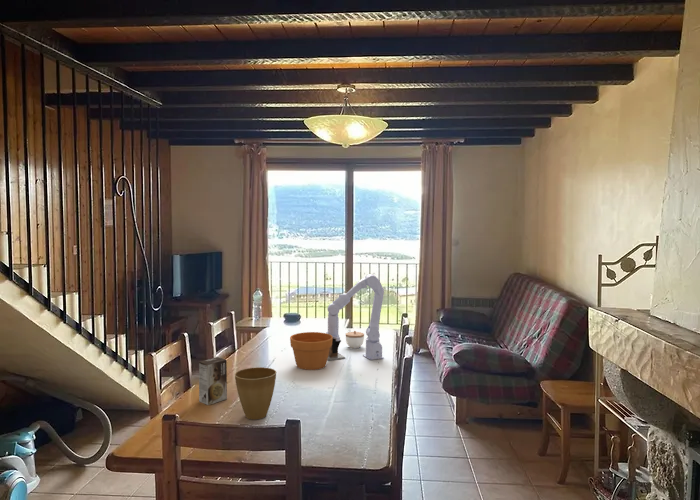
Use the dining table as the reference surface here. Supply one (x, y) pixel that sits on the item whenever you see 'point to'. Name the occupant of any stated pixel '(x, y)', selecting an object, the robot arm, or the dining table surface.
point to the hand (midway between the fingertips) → (332, 351)
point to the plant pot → (255, 390)
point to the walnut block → (332, 353)
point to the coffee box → (212, 380)
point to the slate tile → (336, 357)
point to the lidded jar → (354, 339)
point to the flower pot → (311, 349)
